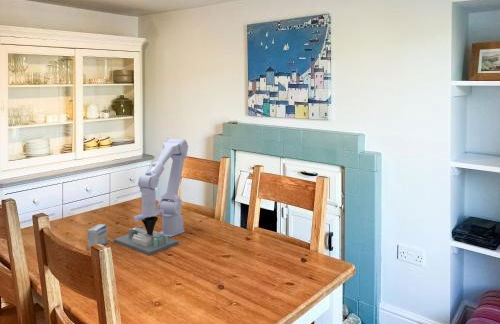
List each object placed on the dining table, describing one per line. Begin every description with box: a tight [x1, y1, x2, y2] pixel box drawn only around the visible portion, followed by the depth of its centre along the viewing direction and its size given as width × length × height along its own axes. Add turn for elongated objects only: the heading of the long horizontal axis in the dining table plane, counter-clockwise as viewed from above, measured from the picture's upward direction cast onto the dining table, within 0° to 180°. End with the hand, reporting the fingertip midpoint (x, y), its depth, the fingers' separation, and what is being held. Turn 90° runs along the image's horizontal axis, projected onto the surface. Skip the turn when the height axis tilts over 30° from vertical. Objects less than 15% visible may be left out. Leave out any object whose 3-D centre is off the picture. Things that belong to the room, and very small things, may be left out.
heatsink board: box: [113, 224, 180, 256], centre depth 187 cm, size 16×24×6 cm, turn 52°
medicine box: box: [86, 223, 108, 250], centre depth 182 cm, size 8×4×9 cm, turn 168°
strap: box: [131, 226, 163, 239], centre depth 186 cm, size 17×4×1 cm, turn 53°
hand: (149, 233), depth 184 cm, fingers closed, pressing on strap
